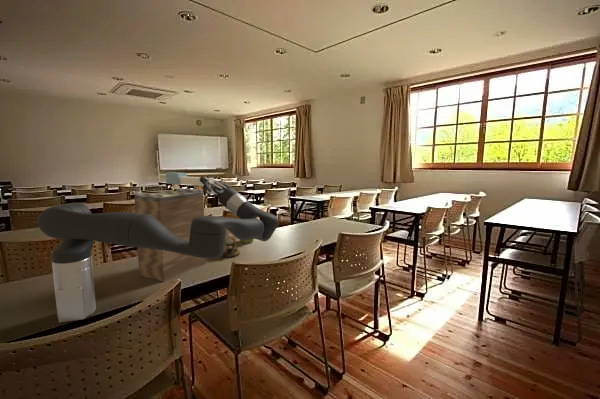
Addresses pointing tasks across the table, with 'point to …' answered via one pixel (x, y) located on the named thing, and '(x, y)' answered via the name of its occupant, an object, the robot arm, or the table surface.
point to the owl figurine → (230, 246)
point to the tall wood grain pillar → (177, 218)
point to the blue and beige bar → (184, 179)
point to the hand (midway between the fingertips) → (204, 178)
